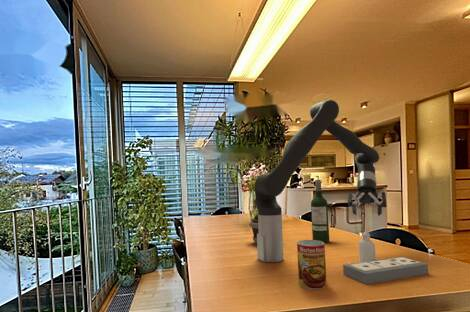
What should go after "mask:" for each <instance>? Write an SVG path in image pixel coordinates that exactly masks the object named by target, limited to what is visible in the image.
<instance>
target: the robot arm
mask: <svg viewBox="0 0 470 312" xmlns="http://www.w3.org/2000/svg"><path fill="white" fill-rule="evenodd" d="M339 112H340V106H339V104H338V102H336V101H335V100H332V99H327V100H322V101H319V102H317V103H315V104H313V105H312V106H311V108H310V111H309V113H310V118H311V119H312V120H311V121H309V122H308V123H307V124H305V125H304V126H303V127H302V128H300V129H299V130H298V131H297V132H296V133H294V134H293V136H292V137H291V138H290V139H289V141H288V142H287V143H286V144H285V146H284V149H283V152H282V156H281V159H280V161H279V162H278V163H277V165H276V166H275V167H274V168H273V169H272V170H271V172H269V173H268V172H267V173H266V172H265V173H261V174H259V175H258V176H257V177H256V179H255V182H254V198H255V199H254V200H255V207H256V209H257V213H258V227H259V234H257V244H256V248H257V249H256V250H257V259H258V260H259V261H261V262H262V263H278V262H282V261H284V243H283V242H284V240H283V239H284V238H283V237H284V235H283V214H282V207H281V205H280V204H279V203H278V201H277V197H278V196H280V195H281V194H282V193H283V191H284V190H285V188H286V187H287V185H288V183H289V182H290V180H291V178H292V177H293V174H294V173H295V172H296V170H297V169H298V168H299V166H300V165H301V164H302V162H303V161H304V160H305V158H306V157H307V156H308V155H309V154H310V152H311V150H312V149H313V148H314V146H315V144H317V142H318V141H319V139H320V138H321V136H322V135H323V134H324V133H325V131H326V132H327V133H329V134H330V135H331V136H333V137H334V138H335V139H337V141H339V142H340V144H342V146H344V147H345V149H347V151H348V152H349V153H350V154H352V155H355V156H354V163H355V165H356V169H357V173H358V174H357V175H358V176H357V184H356V193H353V192H351V191H350V192H348V198H347V205H348V207H349V208H352V209H351V210H352V211H351V212H352V214H353V215H354V216H357V209H358V208H357V207H359V206H360V205H361V204H368V205H370V204H373V205H374V206H376V207H377V216H381V215H382V213H383V212H382V211H383V209H382V208H387V205H388V204H387V198H386V192H384V191H382V192H381V193H378V192H377V189H378V188H377V184H378V183H377V177H376V168H375V166H374V164H376V163H378V162H379V160H380V155H379V153H378V151H377V150H376V149H375V148H373V147H372V146H370V145H369V144H366V143H365V142H363V140H361V139H360V137H359V136H357V134H356V133H354V132H353V131H351V130H350V129H348V128H346V127H345V126H343V125H341V124H339V123H338V122H336V119H337V118H338V116H339ZM378 198H379V199H381V200H382V202H381V201H379V199H378ZM354 199H355V200H354ZM353 200H354V201H353Z"/></svg>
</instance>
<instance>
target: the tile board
mask: <svg viewBox="0 0 470 312" xmlns="http://www.w3.org/2000/svg"><path fill="white" fill-rule="evenodd" d="M342 269H343V275H344V276H347V277H348V278H351V279H354V280H356V281H357V282H360V283H362V284H365V285H370V284H376V283H377V284H378V283H383V282H389V281H393V280H401V279H406V278H411V277H417V276H423V275H425V276H426V275H429V264H428V263H425V262H422V261H419V260H415V259H411V258H407V257H403V256H397V257H390V258H382V259H376V260H374V261H367V262H360V261H359V262H354V263H348V264H347V263H346V264H342Z"/></svg>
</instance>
